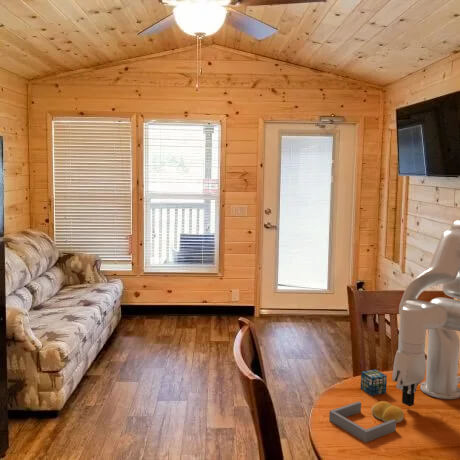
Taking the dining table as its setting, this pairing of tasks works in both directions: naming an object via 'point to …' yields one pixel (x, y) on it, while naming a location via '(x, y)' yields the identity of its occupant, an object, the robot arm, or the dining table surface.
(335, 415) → the box
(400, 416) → the bread roll
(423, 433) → the dining table surface
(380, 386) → the puzzle
